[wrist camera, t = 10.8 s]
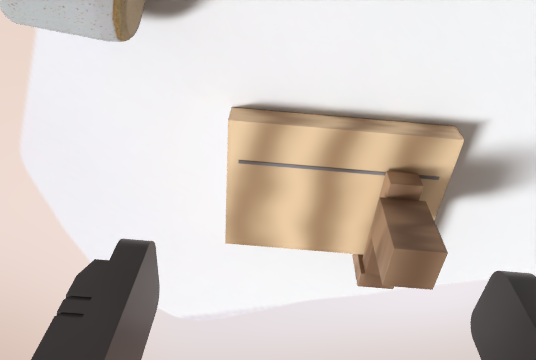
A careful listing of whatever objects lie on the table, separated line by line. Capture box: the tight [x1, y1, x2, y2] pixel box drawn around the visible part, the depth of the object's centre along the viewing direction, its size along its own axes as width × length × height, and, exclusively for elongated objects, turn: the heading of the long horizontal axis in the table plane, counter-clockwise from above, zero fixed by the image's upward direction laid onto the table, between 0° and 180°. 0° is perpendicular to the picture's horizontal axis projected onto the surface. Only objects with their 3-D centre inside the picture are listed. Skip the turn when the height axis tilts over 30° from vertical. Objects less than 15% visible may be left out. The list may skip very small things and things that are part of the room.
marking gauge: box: [353, 171, 448, 289], centre depth 40 cm, size 4×13×11 cm, turn 176°
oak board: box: [225, 108, 464, 255], centre depth 42 cm, size 20×14×3 cm
